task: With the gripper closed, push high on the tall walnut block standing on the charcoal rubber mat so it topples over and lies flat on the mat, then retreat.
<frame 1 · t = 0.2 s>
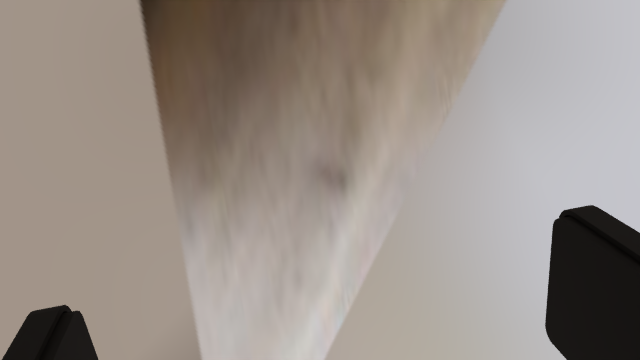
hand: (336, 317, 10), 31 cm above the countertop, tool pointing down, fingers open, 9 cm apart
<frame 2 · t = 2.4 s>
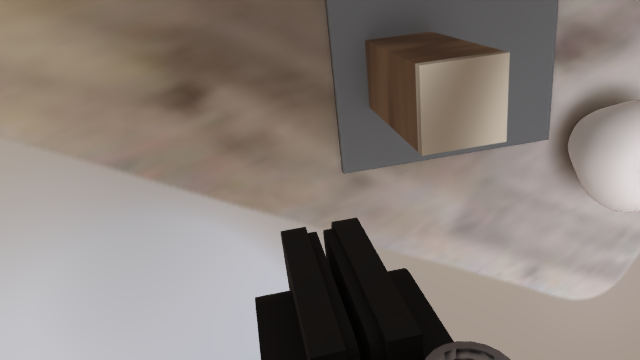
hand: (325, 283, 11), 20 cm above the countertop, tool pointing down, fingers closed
block: (399, 70, 30), resting on mat
mat: (445, 62, 31), on the countertop
plain white apple: (592, 138, 35), on the countertop
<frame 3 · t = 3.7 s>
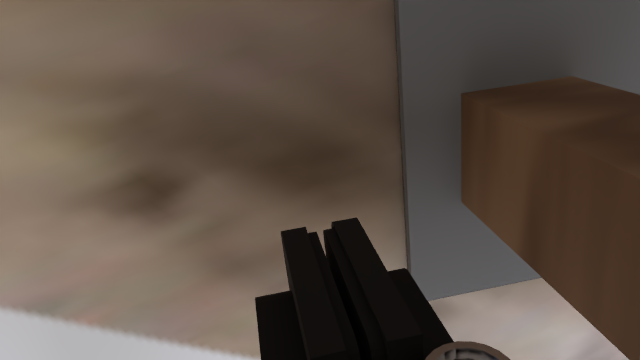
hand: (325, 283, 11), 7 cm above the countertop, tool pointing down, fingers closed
block: (515, 140, 18), resting on mat
mat: (586, 124, 18), on the countertop
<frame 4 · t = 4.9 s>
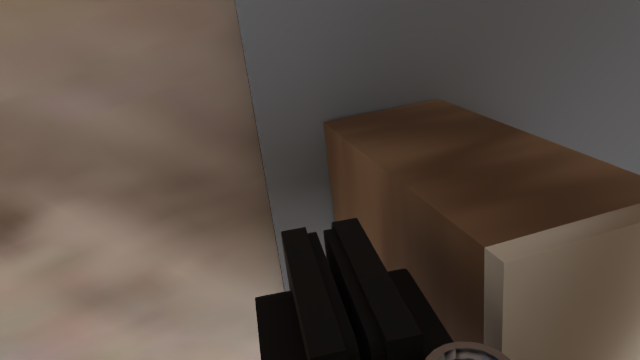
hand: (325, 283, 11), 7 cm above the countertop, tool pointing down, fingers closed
block: (386, 168, 17), point 1 cm above the countertop, tilted 7°, touching mat
mat: (462, 147, 18), on the countertop
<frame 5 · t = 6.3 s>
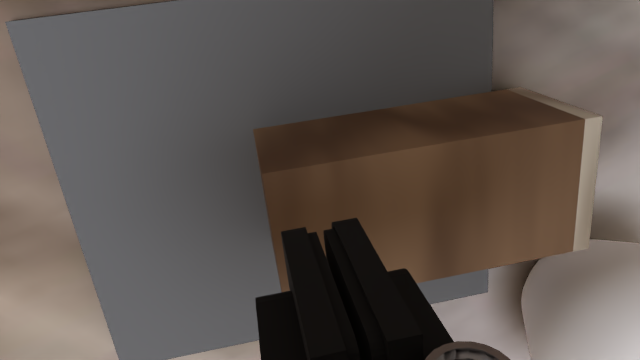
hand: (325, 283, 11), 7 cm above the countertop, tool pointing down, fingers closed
block: (267, 213, 15), point 2 cm above the countertop, tilted 90°, touching mat
mat: (290, 178, 17), on the countertop
plain white apple: (563, 280, 21), on the countertop
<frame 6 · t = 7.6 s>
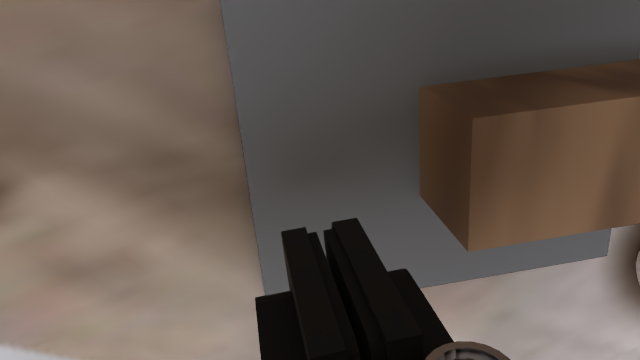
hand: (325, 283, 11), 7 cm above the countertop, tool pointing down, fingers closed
block: (442, 163, 16), point 2 cm above the countertop, tilted 90°, touching mat
mat: (442, 136, 18), on the countertop
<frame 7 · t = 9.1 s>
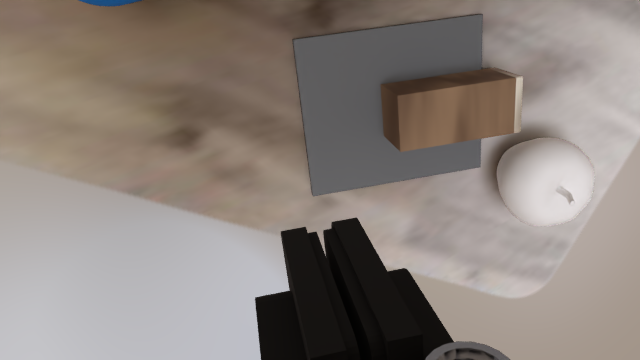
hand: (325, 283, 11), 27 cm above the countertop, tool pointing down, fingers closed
block: (390, 117, 36), point 2 cm above the countertop, tilted 90°, touching mat
mat: (392, 107, 39), on the countertop
plain white apple: (518, 165, 43), on the countertop
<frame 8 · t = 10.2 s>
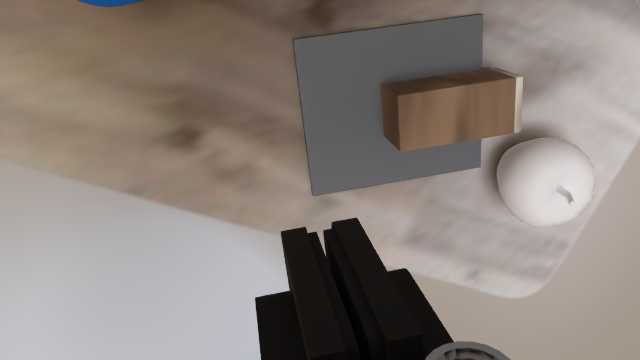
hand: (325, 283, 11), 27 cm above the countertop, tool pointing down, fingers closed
block: (390, 117, 36), point 2 cm above the countertop, tilted 90°, touching mat
mat: (393, 107, 39), on the countertop
plain white apple: (518, 165, 43), on the countertop
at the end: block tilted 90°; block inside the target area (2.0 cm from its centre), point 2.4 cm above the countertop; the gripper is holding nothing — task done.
